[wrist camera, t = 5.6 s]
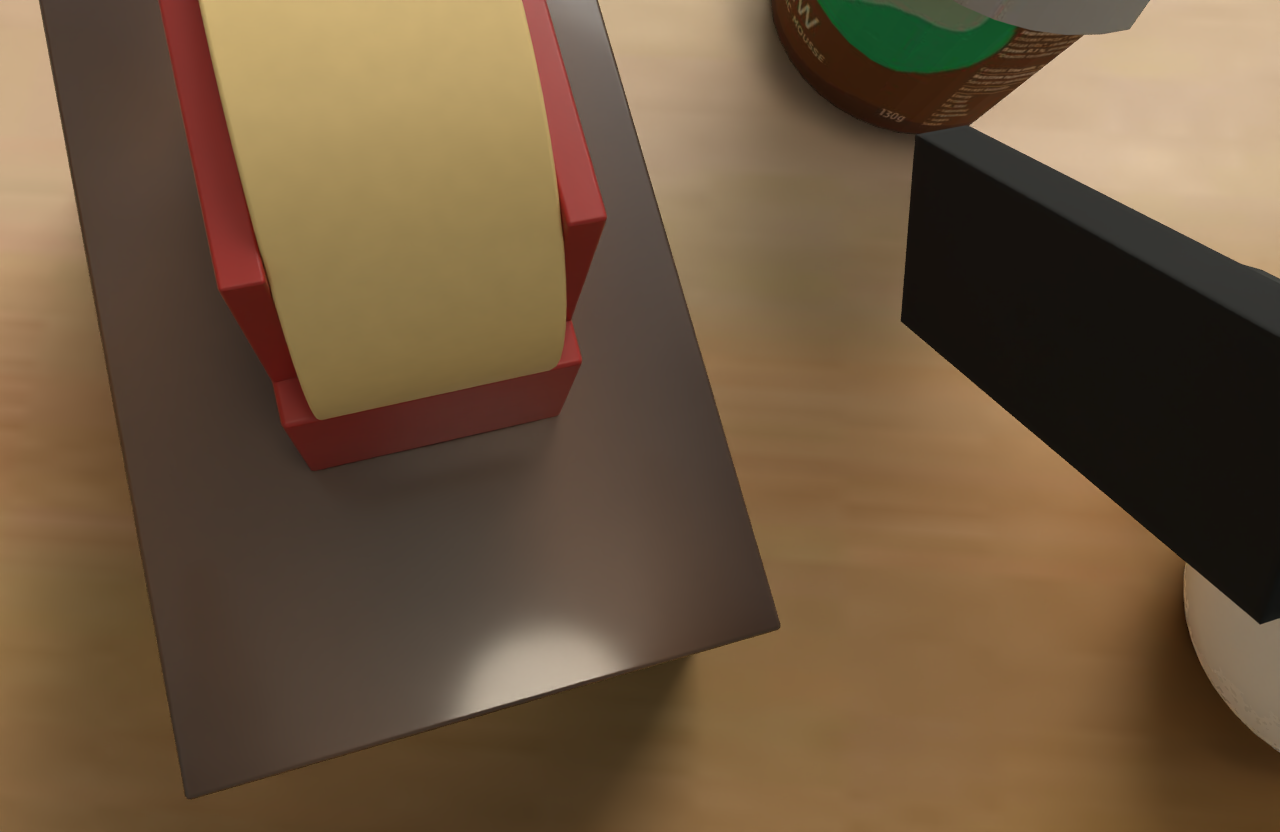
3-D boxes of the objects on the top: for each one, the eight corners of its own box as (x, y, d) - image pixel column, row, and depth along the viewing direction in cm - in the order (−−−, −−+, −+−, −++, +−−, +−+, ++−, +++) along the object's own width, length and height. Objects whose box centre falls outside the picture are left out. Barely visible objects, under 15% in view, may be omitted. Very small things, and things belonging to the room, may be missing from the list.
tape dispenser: (461, 40, 24) (471, -341, 15) (563, 424, 23) (643, 255, 13) (224, 74, 23) (80, -317, 14) (313, 482, 21) (214, 339, 12)
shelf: (539, 72, 33) (567, -108, 26) (697, 640, 30) (783, 628, 22) (133, 134, 31) (28, -47, 23) (257, 766, 27) (184, 801, 20)
